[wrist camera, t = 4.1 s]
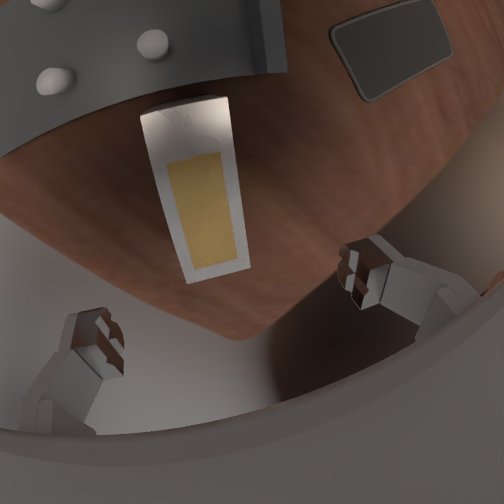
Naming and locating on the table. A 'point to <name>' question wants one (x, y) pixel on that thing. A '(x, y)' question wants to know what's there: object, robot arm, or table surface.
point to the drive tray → (123, 54)
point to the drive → (198, 184)
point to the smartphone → (391, 45)
